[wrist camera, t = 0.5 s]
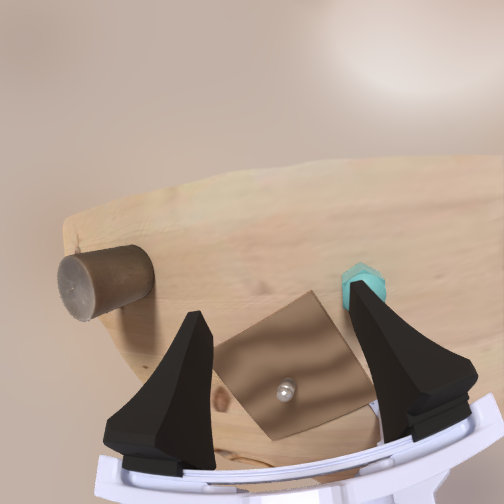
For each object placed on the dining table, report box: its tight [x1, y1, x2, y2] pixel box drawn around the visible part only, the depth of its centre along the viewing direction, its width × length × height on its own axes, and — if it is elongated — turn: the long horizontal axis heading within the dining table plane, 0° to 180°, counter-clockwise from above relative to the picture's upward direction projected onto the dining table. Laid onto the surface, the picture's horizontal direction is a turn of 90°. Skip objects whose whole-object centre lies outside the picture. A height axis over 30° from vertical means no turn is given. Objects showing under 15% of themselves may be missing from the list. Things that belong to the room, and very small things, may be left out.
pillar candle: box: [57, 245, 154, 322], centre depth 39 cm, size 10×10×15 cm
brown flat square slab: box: [213, 290, 377, 440], centre depth 39 cm, size 20×20×1 cm
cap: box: [342, 262, 386, 311], centre depth 32 cm, size 5×6×6 cm
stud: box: [276, 378, 296, 402], centre depth 36 cm, size 2×2×5 cm
